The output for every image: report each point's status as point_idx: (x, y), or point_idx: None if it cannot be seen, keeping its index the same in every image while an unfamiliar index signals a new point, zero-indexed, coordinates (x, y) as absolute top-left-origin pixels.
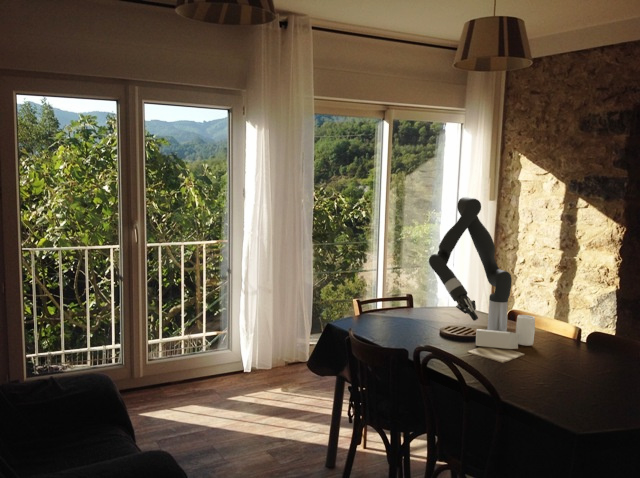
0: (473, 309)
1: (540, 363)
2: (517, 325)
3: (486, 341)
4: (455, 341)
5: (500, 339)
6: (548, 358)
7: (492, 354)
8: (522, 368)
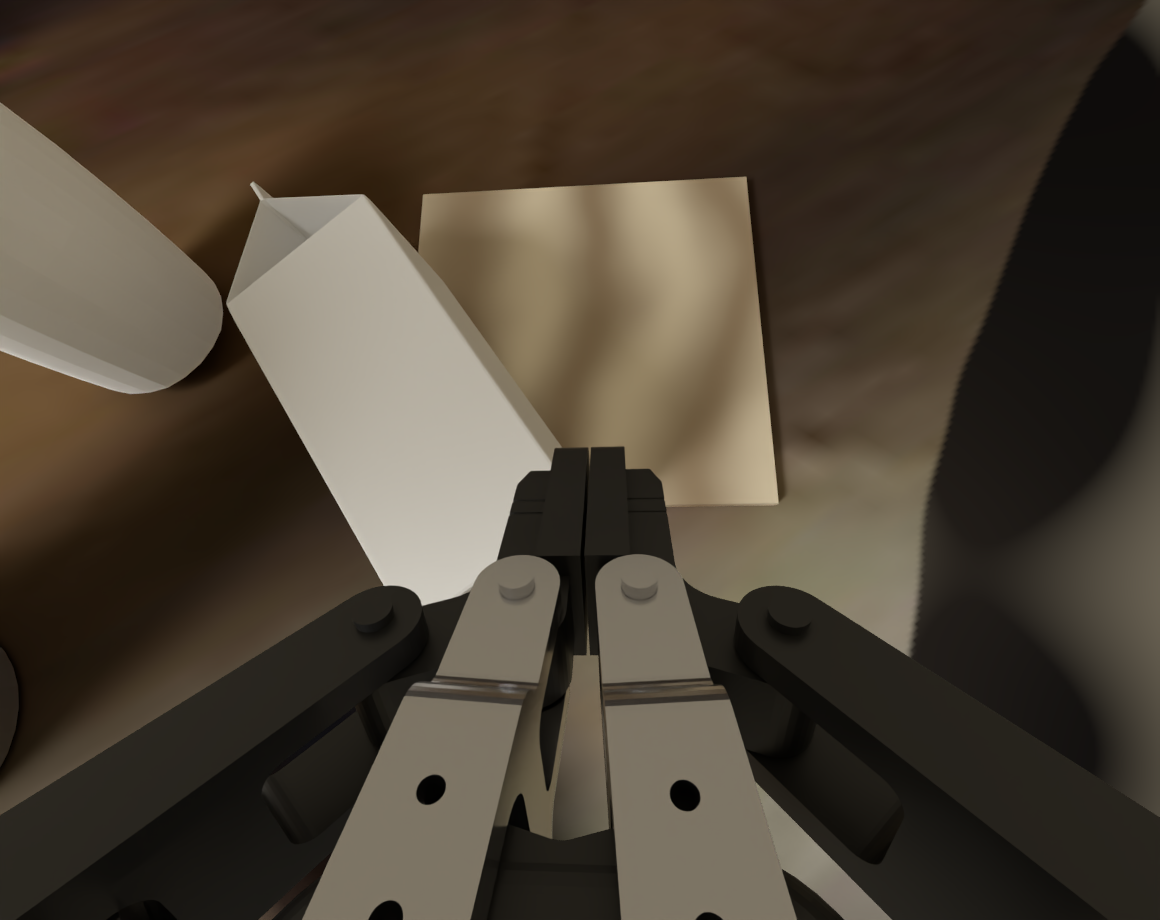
0: (511, 588)
1: (514, 58)
2: (27, 258)
3: (543, 426)
4: (561, 838)
5: (454, 306)
6: (362, 85)
7: (658, 318)
8: (722, 61)
